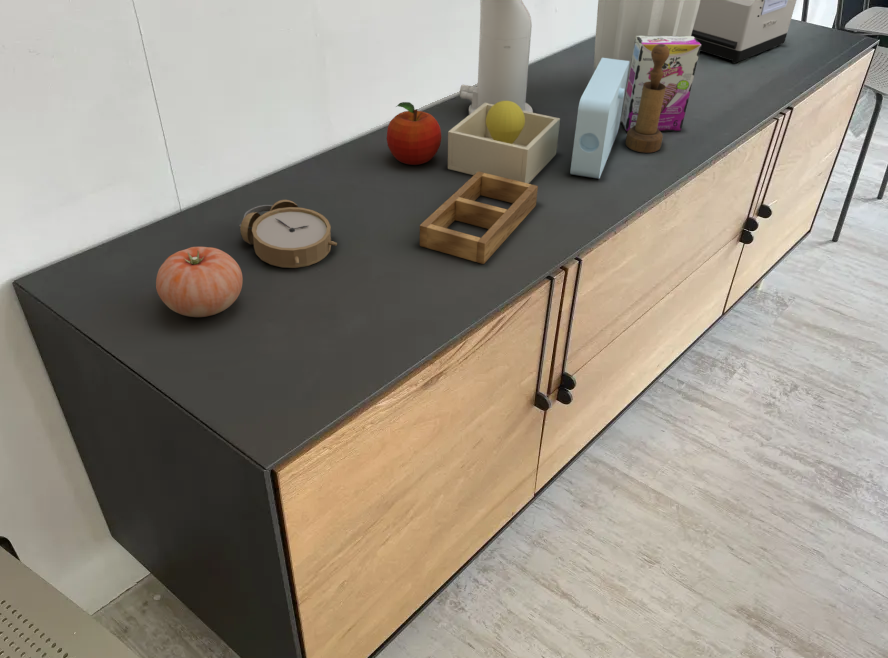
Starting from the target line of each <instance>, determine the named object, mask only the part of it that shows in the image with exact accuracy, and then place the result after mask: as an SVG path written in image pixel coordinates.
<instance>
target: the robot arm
mask: <svg viewBox="0 0 888 658" xmlns="http://www.w3.org/2000/svg"><path fill="white" fill-rule="evenodd" d="M479 6H480V7H479V9H480V12H479V16H480V17H479V41H478V42H479V43H478V66H477V85H476V86H471V85H469V84H461V86H460V88H459V97H460V99H462V100H468V101H470V102H471V104H470V105H469V107H468V116H469V115H470V114H471V113H472V112H474V111H475V110H476V109H477V108H479V107H480V106H481V105H482V104H484V103H489V104H496V103H498V102H500V101H512V102H514V103H516V104H517V105H518V106H519V107H520V108H521V109H522V111H527V112H532V113H534V110H533V108H532V106H531V105H530V104H529V103H527V102H526V100H527V87H528V76H529V63H530V53H531V38H532V28H533V27H532V26H533V25H532V17H531V13H530V12H529V10H528V8H527V7H526V5H525V3H524V1H523V0H479Z"/></svg>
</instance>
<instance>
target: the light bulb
mask: <svg viewBox="0 0 888 658" xmlns="http://www.w3.org/2000/svg"><path fill="white" fill-rule="evenodd" d="M486 125H487V128H488V130H489V132H490V135H491V137H492V138H493V140H496V141H501V142H505V143H509V144H513V142H514V141H515V140H516V139H517V138H518V136H519V134H520V133H521V131H522V129H523V128H524V125H525V116H524V113H523V111H522V109H521V108H520V107H519V106H518V105H517V104H516V103H514V102H512V101H500V102H498V103H496V104H494V105H493V106H492V107H491V108H490V110H489V112H488V114H487V117H486Z"/></svg>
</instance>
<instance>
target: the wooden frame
mask: <svg viewBox="0 0 888 658" xmlns="http://www.w3.org/2000/svg"><path fill="white" fill-rule="evenodd" d="M538 189H539V186H538V185H536V184H531V183H529V184H528V183H524V182H520V181H516V180H512V179H507V178H503V177H499V176H495V175H491V174H487V173H483V172H479V171H478V172H477V173H476V174H475V175H472V176H471V177H470V178H469V179H468V180H467V181H466V182H465V183H464V184H463V185H462V186H461V187H459V188H458V189H457V190H456V191H455V192H454V193H453V194H452V195H450V197H449V198H447V200H445V201H444V202H443V203H442V204H441V205H440V206H439V207H438V208H437V209H436V210H434V212H433V213H431V214H430V215H429V216H428V217H427V218H426V219H425V220H424V221H423V222H421V224H419V246H420V247H423V248H427V249H430V250H433V251H437V252H440V253H443V254H446V255H450V256H454V257H456V258H461V259H464V260H468V261H471V262H474V263H478V264H482V265H484V264H485V263H486V262H487V261H488V260H489V259H490V258H491V257H492V256H493V255H494V253H496V251H497V250H498V249H499V248H500V247H501V246H502V245H503V244H504V242H505V241H506V240H508V238H509V237H510V235H511V234H512V233H513V232H514V231H515V230H516V229H517V228H518V227H519V225H520V224H522V222H523V221H524V220H525V218H526V217H527V216H529V214H530V213H531V212H532V211H533V210H534V208H535V207H536V206H537V201H538V200H537V199H538ZM481 196H482V197H486V198H490V199H494V200H498V201H502V202H506V203H510V204H511V205H510V206H509V207H508V208H503V207H499V206H495V205H492V204H487V203H484V202H480V201H476V200H477V199H478V198H479V197H481ZM455 221H457V222H460V223H464V224H468V225H471V226H475V227H479V228H482V229H487V231H486V232H484V234H483V235H482V236H481V237H479V236H475V235H473V234H469V233H466V232H461V231H459V230H455V229H450V228H449V227H450V226H451V225H452V224H453V223H454V222H455Z"/></svg>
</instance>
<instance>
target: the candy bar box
mask: <svg viewBox="0 0 888 658" xmlns="http://www.w3.org/2000/svg"><path fill="white" fill-rule="evenodd" d="M658 44H664V45H666V46H667V47H668V48H669V57H668V59H667V60H666V61H665V63H664V64H663V66H662V71H663V72H664V74H663V77H662V79H661V81H660V83H662V84H664V85H665V86H666V89H665V94H664V99H663V103H662V108H661V112H660V117H659V122H658V127H657V128H658V129H659V131H660V132H661V131H662V132H673V131H674V132H675V131H676V132H680V131H682V128H683V124H684V120H685V116H686V112H687V108H688V103H689V99H690V94H691V90H692V86H693V82H694V79H695V78H694V77H695V73H696V68H697V65H698V61H699V58H700V57H699V56H700V53H701V51H700V49H701V44H700V43H699V42H698V41H697V40H696V38H695V37H694V36H636V38H635V43H634V50H633V55H632V60H631V66H630V71H629V77H628V83H627V88H626V94H625V99H624V104H623V108H622V114H621V120H620V124H622V126H623V129H624V130H625V131H626V132H628V130H629V129H630V128H632V127H633V126H635V125H636V121H637V116H638V111H639V106H640V100H641V95H642V89H643V84H644V83H645V82H651V80H650V71H651V70H653V67H654V63H653V60H652V56H651V52H652V50H653V48H654V47H655V46H656V45H658Z"/></svg>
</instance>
